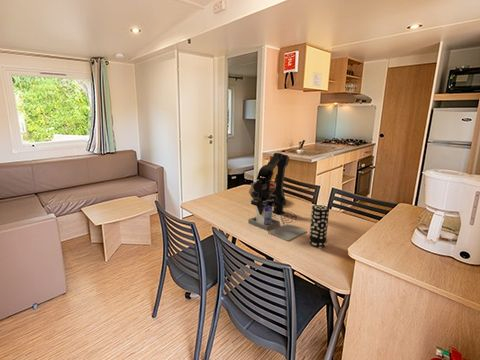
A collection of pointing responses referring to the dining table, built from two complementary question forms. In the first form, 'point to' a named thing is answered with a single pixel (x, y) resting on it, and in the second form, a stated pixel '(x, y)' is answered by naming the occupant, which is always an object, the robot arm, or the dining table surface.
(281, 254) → the dining table surface
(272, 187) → the dark brown bowl
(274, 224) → the grey rectangular frame
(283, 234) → the mat
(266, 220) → the ink cartridge box
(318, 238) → the spotted tube
